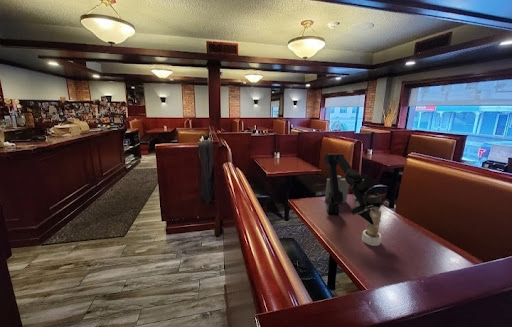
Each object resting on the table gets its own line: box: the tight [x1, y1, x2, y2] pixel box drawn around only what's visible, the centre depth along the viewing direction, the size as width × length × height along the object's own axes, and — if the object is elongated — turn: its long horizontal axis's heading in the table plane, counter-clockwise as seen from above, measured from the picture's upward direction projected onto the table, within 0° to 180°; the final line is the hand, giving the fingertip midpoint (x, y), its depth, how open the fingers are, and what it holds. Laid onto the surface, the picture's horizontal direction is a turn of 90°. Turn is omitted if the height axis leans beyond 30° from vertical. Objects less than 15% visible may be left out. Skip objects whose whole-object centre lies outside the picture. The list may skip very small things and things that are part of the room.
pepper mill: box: [366, 207, 382, 238], centre depth 114 cm, size 5×5×16 cm
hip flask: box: [324, 175, 349, 204], centre depth 161 cm, size 16×4×20 cm, turn 95°
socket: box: [361, 229, 382, 247], centre depth 117 cm, size 8×8×4 cm
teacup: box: [353, 195, 360, 208], centre depth 154 cm, size 14×11×8 cm
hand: (376, 223), depth 113 cm, fingers closed on pepper mill, 5 cm apart
